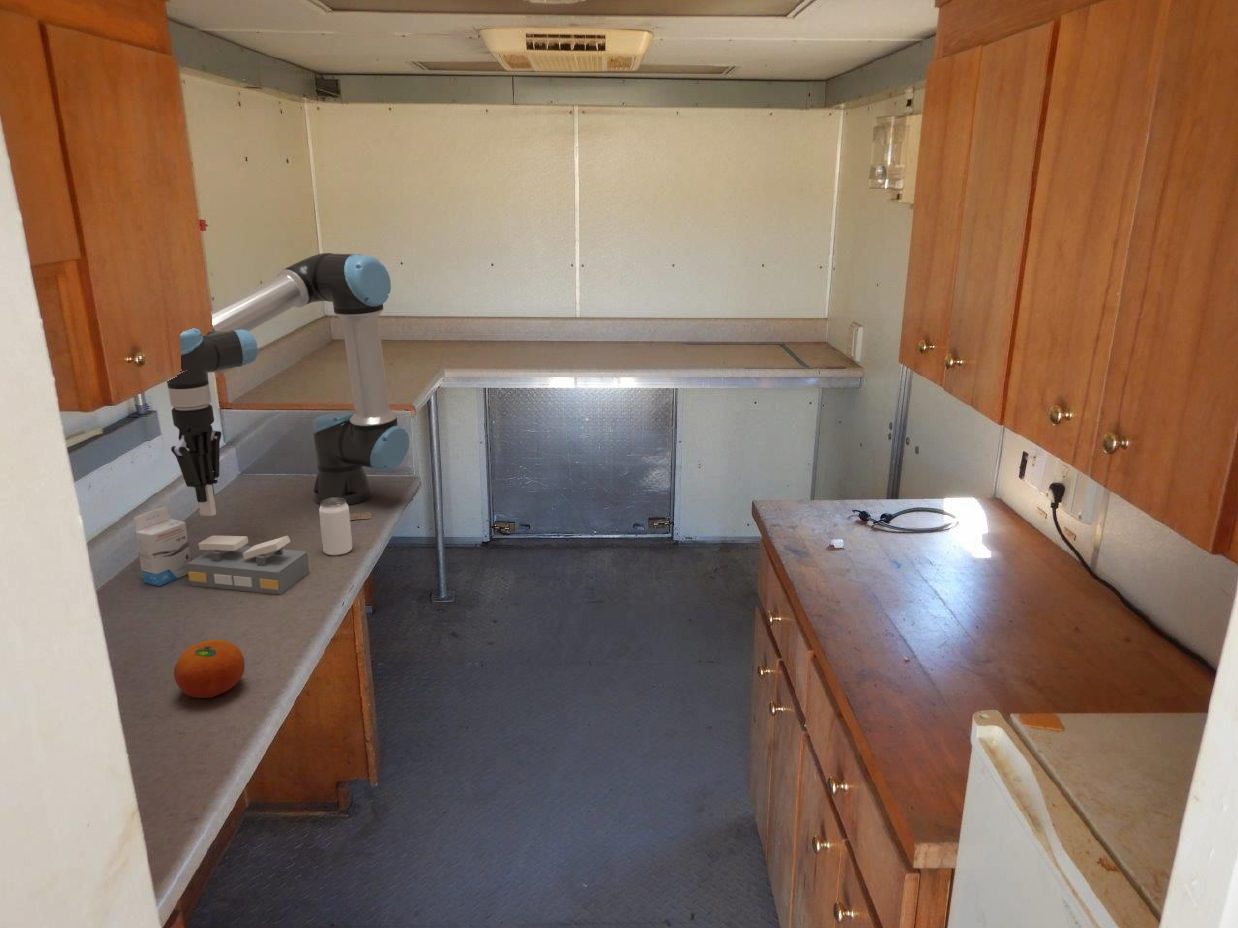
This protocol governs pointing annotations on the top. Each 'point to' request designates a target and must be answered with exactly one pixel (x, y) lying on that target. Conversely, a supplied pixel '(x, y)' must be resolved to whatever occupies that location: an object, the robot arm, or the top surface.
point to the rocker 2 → (266, 548)
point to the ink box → (162, 547)
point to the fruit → (209, 668)
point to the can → (335, 526)
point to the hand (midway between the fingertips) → (208, 514)
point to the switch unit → (249, 570)
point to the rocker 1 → (223, 543)
